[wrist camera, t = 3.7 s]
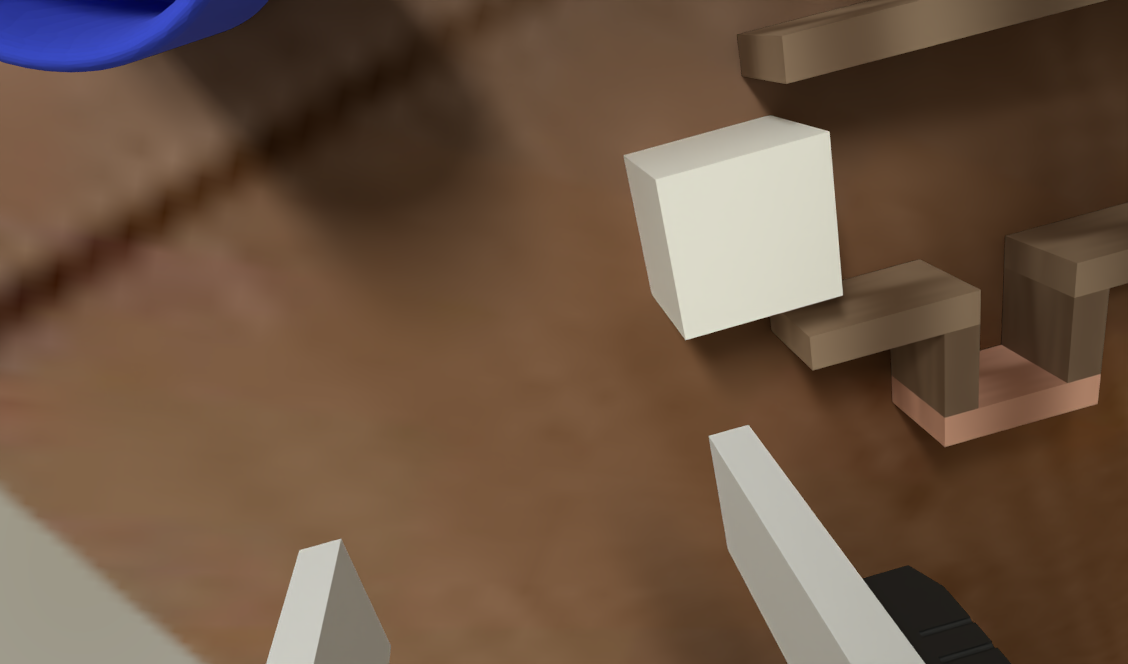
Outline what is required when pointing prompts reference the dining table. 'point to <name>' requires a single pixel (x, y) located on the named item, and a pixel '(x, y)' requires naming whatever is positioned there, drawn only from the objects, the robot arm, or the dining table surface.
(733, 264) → the block
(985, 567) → the dining table surface
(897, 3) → the wooden bar frame
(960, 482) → the dining table surface
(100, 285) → the dining table surface
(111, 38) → the mug
